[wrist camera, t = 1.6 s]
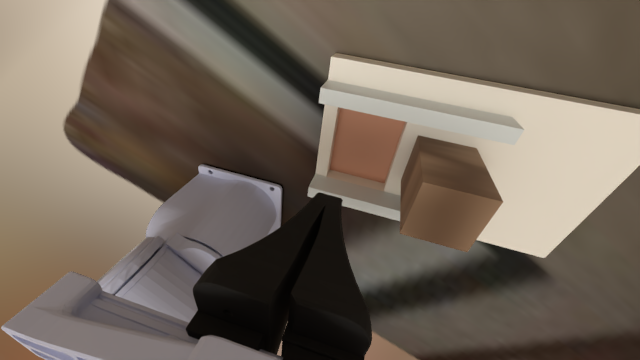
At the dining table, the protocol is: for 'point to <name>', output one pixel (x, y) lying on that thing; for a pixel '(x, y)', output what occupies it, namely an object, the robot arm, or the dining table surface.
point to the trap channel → (473, 145)
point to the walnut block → (446, 194)
